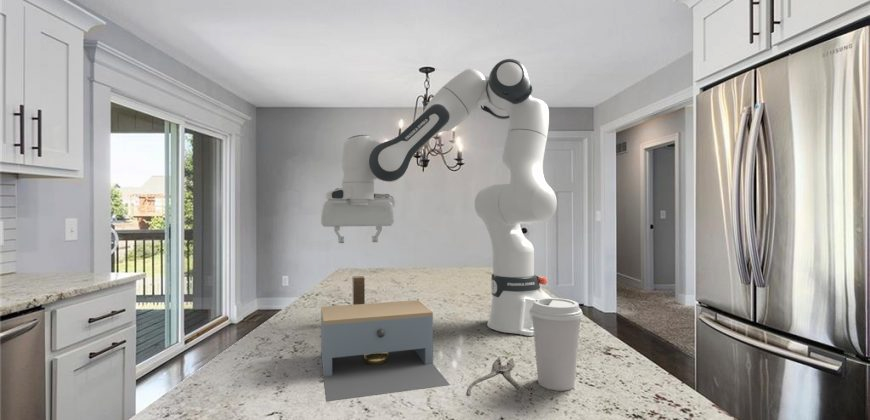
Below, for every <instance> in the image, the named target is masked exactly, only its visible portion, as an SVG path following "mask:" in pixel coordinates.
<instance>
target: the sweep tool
mask: <svg viewBox="0 0 870 420" xmlns="http://www.w3.org/2000/svg"><path fill="white" fill-rule="evenodd" d="M365 285H366V284H365V276H364V275H358V276H356V275H355V276H352V305H357V304H366V300H365V298H366V297H365V294H366V293H365V290H366V289H365Z"/></svg>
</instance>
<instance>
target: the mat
mask: <svg viewBox="0 0 870 420" xmlns="http://www.w3.org/2000/svg"><path fill="white" fill-rule="evenodd" d="M323 381H324V390H325V391H324V392H325V401H326V402H333V401H341V400H348V399H355V398H364V397H371V396H378V395H379V396H380V395H386V394H392V393H393V394H394V393H401V392H408V391H410V392H411V391H415V390H422V389H423V390H424V389H431V388H439V387H446V386H447V387H448V386H450V385H451V383H449V380H447V378H445V376H444V375H443V374H442V373H441V372H440V371H439V369H438V368H437V367H436V366H435V364H434V363H433V364H425V363H424V362H423V361H422V359H421V358H420V357H419V355H418V354H417V353H416V351H415V350H414V349H412V350H403V351H393V352H388V362H387V363H385V364H382V365H368V364H365V362H364V355H354V356H345V357H335V358H332V375H330V376H324V375H323Z"/></svg>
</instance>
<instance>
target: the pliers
mask: <svg viewBox="0 0 870 420" xmlns="http://www.w3.org/2000/svg"><path fill="white" fill-rule="evenodd" d="M492 365H493V368H492V370H491V372H489V373H488V374H486V375H484V376H482V377H480V378H477V379H476V380H473V382H471V383H470V385H469V386H468V388H467V390H466V396H467V397H470V396H471V391H472V389H473V387H475V386H476V385H477V384H480V383H482V382H483V381H486V380H488V379H490V378H494V377H496V376H497V375H499V374H502V375H503V376H504V378H505V379H506V380H507V381H508V382H509V383H510V384H512V386H514V388H515V389H516V390H517V396H516V398H515V399H514V402H515V403H518V402H520V401H521V398H522V397H523V396H522V395H523V390H522V388H521V386H520V384H519V383H518V382H517V381H516V380H515V379H514V378H513V377H512V376H511V371H512V370H513V369H514V368H515V362H514V358H513V357H511V358H510V359H509V361H507V362H506V364H505V365H502V362H501V357H500V356H499V357H498V358H496V359H495V361H494V362H493V363H492Z"/></svg>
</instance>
